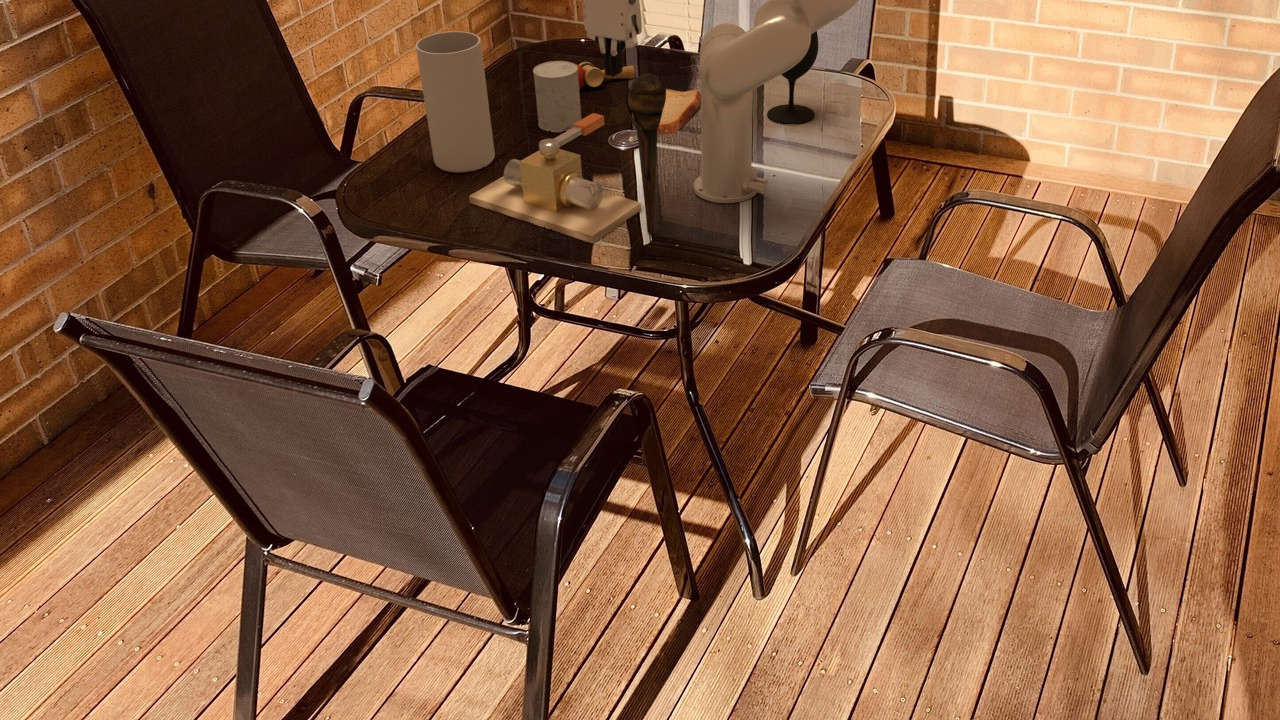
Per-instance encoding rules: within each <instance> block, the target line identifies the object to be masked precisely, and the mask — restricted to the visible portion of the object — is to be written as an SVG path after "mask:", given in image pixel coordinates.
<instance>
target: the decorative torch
mask: <svg viewBox="0 0 1280 720" xmlns="http://www.w3.org/2000/svg"><path fill="white" fill-rule="evenodd" d="M666 89H667V88H666V87H665V86H664V84H663V83H662V82H661V80H660V78H659V77H658V76H657V75H656V74H652V73H649V72H647V73H643V74H641V75H639V76H637V77H636V78H634V80H633V81H632V82H631V84H630V86H629V88H628V91H627V93H626V97H625V102H626V106H627V112H628V116H629V118H630V120H631V123H632V124H633V126H634V127H635V129H636V133H637V134H636V135H637V136H636V137H637V145H638V155H639V163H640V164H639V165H640V172H641V181H642V183H641V185H642V193H643V201H644V209H645V210H644V211H645V219H646V231H647V234H649V235H652V234H654V232H655V212H656V210H655V207H656V184H657V182H656V181H657V179H656V178H657V177H656V176H657V154H658V153H657V151H658V148H657V146H658V133H657V127H659V124H660V120H661V117H662V112H663V108H664V105H665V101H666Z"/></svg>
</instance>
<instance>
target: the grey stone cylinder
mask: <svg viewBox="0 0 1280 720" xmlns="http://www.w3.org/2000/svg"><path fill="white" fill-rule="evenodd" d="M577 65H578V64H577ZM577 65H576V63H573V62H570V61H566V60H554V61H553V60H552V61H547V62H543V63H539V64H537V65H536V66H534V68H533V70H532V74H533V78H534V81H533V82H534V88H535V100H536V110H537V111H536V112H537V120H538V128H540V129H541V130H542V129H543V131H545V130H546V132H548V131H551V133H563V132H562V131H566V132H567V131H568V130H570V129H572V128H574V124H575V123H576V122H578V121H580V120H582V119H583V118H582V111H581V97H580V96H581V95H580V89H579V81H578V67H577Z"/></svg>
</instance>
